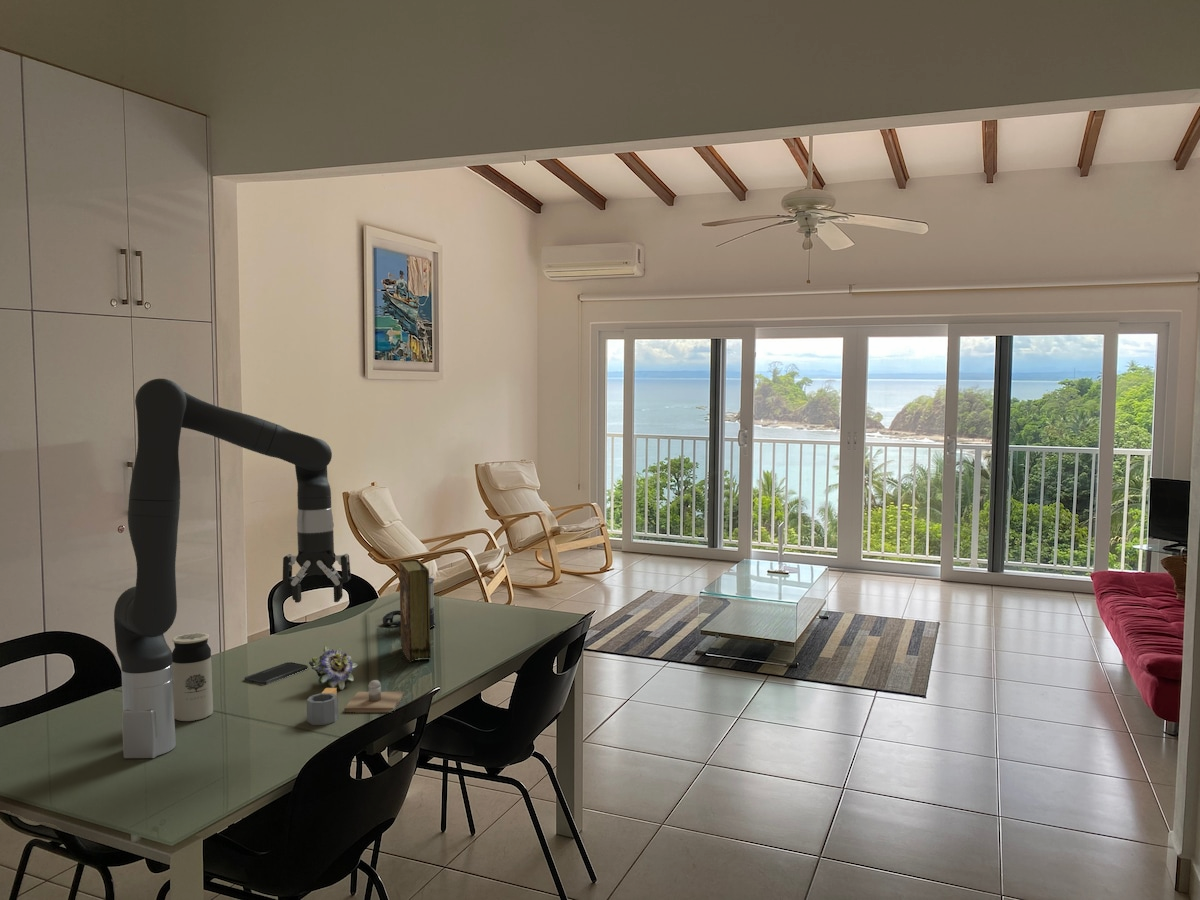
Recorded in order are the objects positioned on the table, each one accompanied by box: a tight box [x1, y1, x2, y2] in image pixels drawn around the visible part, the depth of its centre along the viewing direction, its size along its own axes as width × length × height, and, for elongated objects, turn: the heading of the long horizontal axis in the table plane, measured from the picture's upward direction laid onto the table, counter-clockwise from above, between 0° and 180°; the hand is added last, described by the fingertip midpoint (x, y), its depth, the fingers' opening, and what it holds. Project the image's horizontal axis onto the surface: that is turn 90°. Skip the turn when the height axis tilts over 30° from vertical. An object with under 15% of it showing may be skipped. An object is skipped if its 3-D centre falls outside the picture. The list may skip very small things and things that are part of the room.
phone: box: [244, 661, 309, 686], centre depth 228 cm, size 8×1×15 cm
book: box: [398, 559, 432, 662], centre depth 244 cm, size 16×6×25 cm, turn 22°
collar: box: [306, 687, 339, 726], centre depth 198 cm, size 10×6×5 cm, turn 0°
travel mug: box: [172, 632, 214, 722], centre depth 199 cm, size 8×8×18 cm
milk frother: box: [382, 576, 436, 627], centre depth 274 cm, size 14×16×15 cm
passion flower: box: [308, 645, 358, 691], centre depth 219 cm, size 11×11×12 cm
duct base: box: [344, 679, 405, 714], centre depth 206 cm, size 11×11×6 cm
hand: (317, 601), depth 195 cm, fingers open, 8 cm apart
